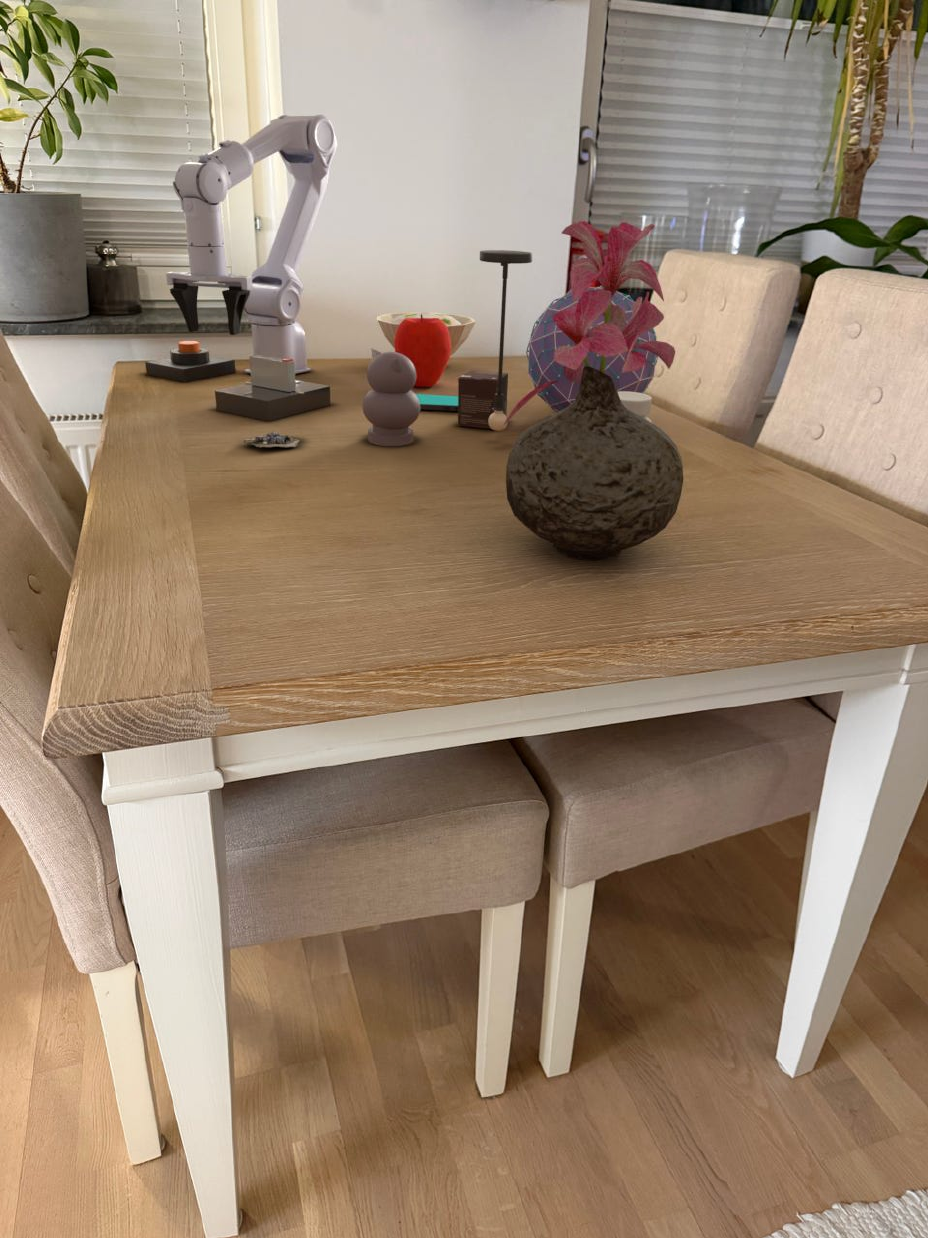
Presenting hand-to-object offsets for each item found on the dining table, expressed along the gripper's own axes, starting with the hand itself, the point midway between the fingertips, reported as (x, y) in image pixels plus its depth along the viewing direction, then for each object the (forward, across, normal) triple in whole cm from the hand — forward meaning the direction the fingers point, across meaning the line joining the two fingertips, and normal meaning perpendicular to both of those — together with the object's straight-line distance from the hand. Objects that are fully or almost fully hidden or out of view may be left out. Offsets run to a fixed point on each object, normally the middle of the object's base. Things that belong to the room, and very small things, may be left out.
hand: (213, 332), depth 150 cm
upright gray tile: (+6, +16, -12) cm, 21 cm away
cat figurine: (+9, +40, -24) cm, 47 cm away
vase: (+9, +71, -57) cm, 91 cm away
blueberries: (+9, +25, -32) cm, 42 cm away
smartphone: (+9, +41, -2) cm, 42 cm away
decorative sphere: (+9, +64, -2) cm, 65 cm away
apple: (+9, +33, +13) cm, 36 cm away
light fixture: (+9, +54, -22) cm, 59 cm away
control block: (+9, -9, +7) cm, 14 cm away
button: (+5, -9, +7) cm, 12 cm away
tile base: (+9, +16, -12) cm, 22 cm away
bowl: (+9, +28, +30) cm, 42 cm away
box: (+9, +50, -11) cm, 51 cm away
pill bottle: (+9, +72, -36) cm, 82 cm away
